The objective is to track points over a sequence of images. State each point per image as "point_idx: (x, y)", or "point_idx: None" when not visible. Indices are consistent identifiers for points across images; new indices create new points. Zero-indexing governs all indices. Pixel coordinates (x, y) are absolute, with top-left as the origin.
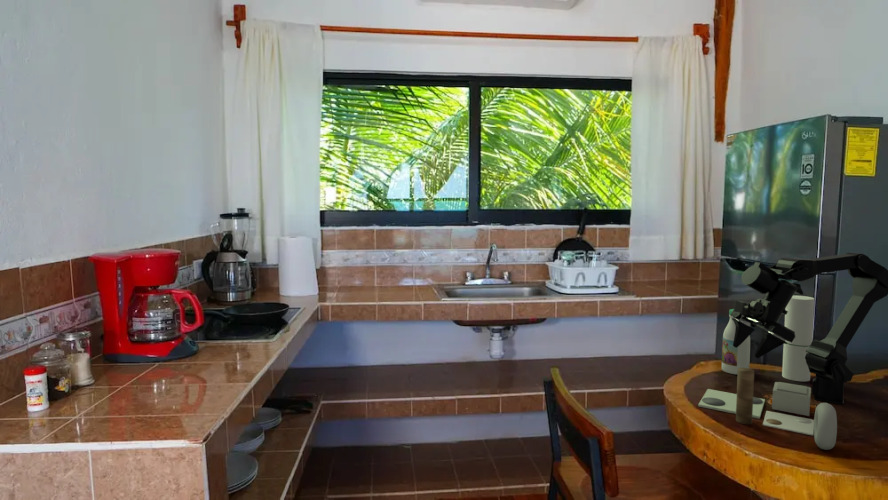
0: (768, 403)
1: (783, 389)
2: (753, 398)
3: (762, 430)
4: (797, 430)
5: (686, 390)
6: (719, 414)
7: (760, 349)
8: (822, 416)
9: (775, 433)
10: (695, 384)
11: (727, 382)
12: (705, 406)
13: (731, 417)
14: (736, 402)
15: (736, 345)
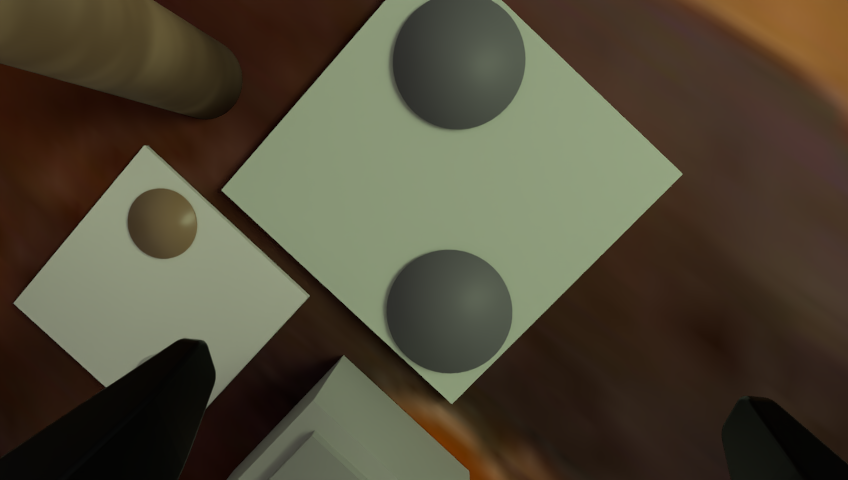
0: (422, 397)
1: (289, 467)
2: (462, 340)
3: (92, 99)
4: (59, 264)
5: (715, 36)
6: (309, 3)
7: (39, 440)
8: None
9: (55, 140)
10: (812, 169)
11: (799, 408)
12: None
13: (261, 46)
14: (162, 6)
15: (744, 449)
